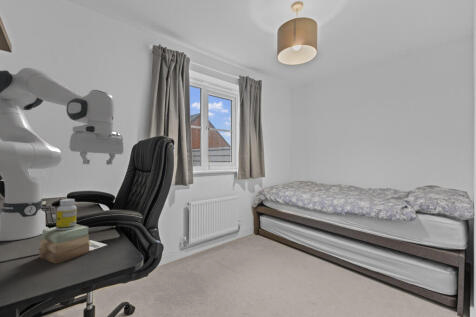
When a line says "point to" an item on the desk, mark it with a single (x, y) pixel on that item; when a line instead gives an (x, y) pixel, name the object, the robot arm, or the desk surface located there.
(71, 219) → the supplement bottle
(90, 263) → the desk surface
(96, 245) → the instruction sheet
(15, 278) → the desk surface
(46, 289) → the desk surface
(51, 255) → the brick tower
